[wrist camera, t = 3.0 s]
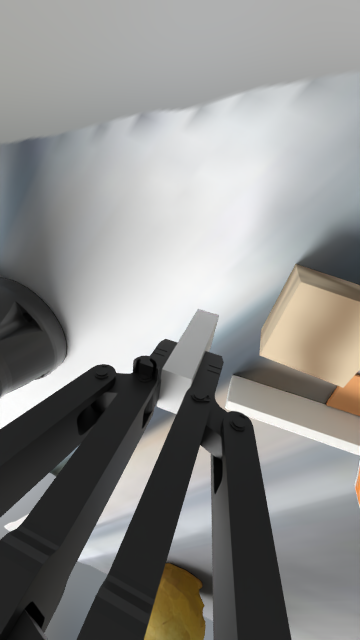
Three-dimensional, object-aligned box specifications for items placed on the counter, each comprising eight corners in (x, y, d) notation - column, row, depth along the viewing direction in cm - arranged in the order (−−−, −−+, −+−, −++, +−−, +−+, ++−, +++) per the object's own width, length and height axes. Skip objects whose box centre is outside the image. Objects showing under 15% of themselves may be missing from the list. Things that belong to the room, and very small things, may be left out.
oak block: (261, 328, 25) (259, 355, 21) (295, 263, 21) (300, 281, 17) (332, 354, 24) (343, 387, 20) (381, 291, 20) (406, 317, 16)
